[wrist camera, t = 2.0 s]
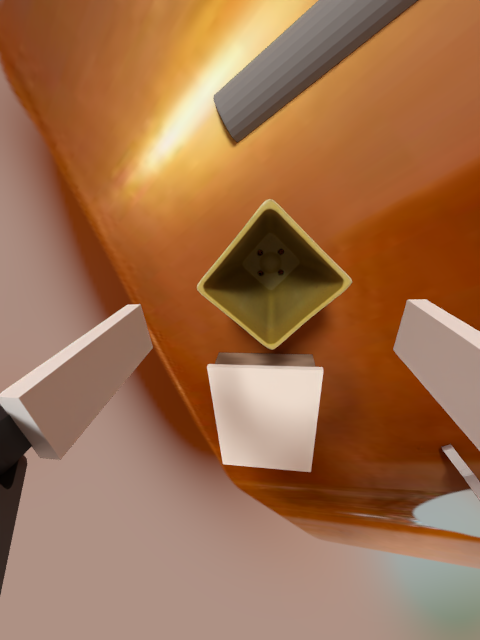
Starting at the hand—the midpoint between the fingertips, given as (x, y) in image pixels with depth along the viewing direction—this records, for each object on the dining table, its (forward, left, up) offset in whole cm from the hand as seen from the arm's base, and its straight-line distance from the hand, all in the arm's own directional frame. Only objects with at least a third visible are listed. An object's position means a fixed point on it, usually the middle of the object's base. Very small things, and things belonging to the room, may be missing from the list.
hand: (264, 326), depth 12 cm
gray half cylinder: (-5, -17, -16) cm, 24 cm away
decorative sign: (-32, +36, -16) cm, 51 cm away
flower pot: (0, 0, -16) cm, 16 cm away
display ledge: (+1, +22, -16) cm, 27 cm away
